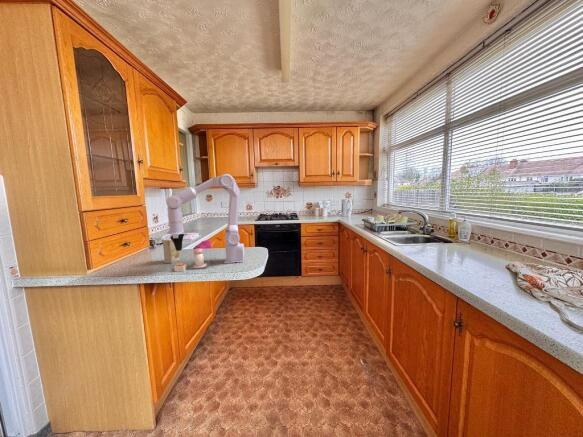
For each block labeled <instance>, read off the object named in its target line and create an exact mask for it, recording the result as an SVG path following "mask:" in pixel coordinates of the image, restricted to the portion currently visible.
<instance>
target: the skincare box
mask: <svg viewBox="0 0 583 437" xmlns="http://www.w3.org/2000/svg"><path fill="white" fill-rule="evenodd" d="M162 247H163V248H162V249H163V256H164V263H165V264H173V263H176V262H178V261H180V251H176V249H175V246H174V243H173V241H172V240H171V238H170V237H169V238H166V239H163V240H162Z"/></svg>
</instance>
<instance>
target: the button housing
mask: <svg viewBox="0 0 583 437" xmlns="http://www.w3.org/2000/svg"><path fill="white" fill-rule="evenodd" d="M184 263H185V262H184ZM187 268H188V263H185V265H184V266H176V265H175V266H174V268H173V269H174V272H185V271H186V270H187Z"/></svg>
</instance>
